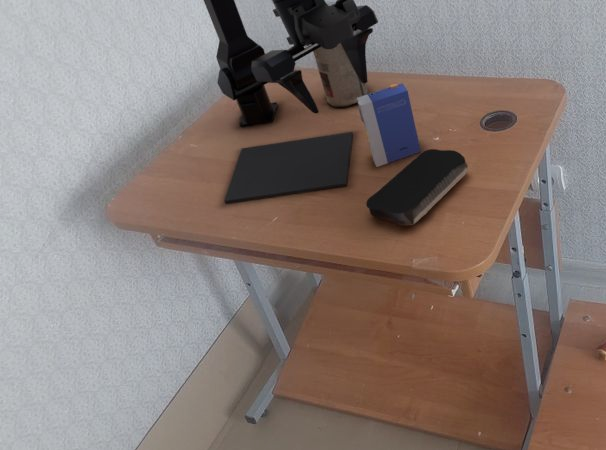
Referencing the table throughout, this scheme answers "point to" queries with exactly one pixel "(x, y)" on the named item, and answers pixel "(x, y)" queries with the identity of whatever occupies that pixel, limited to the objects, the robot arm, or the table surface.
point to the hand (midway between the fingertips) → (341, 97)
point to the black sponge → (418, 187)
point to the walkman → (389, 124)
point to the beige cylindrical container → (338, 75)
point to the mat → (291, 168)
